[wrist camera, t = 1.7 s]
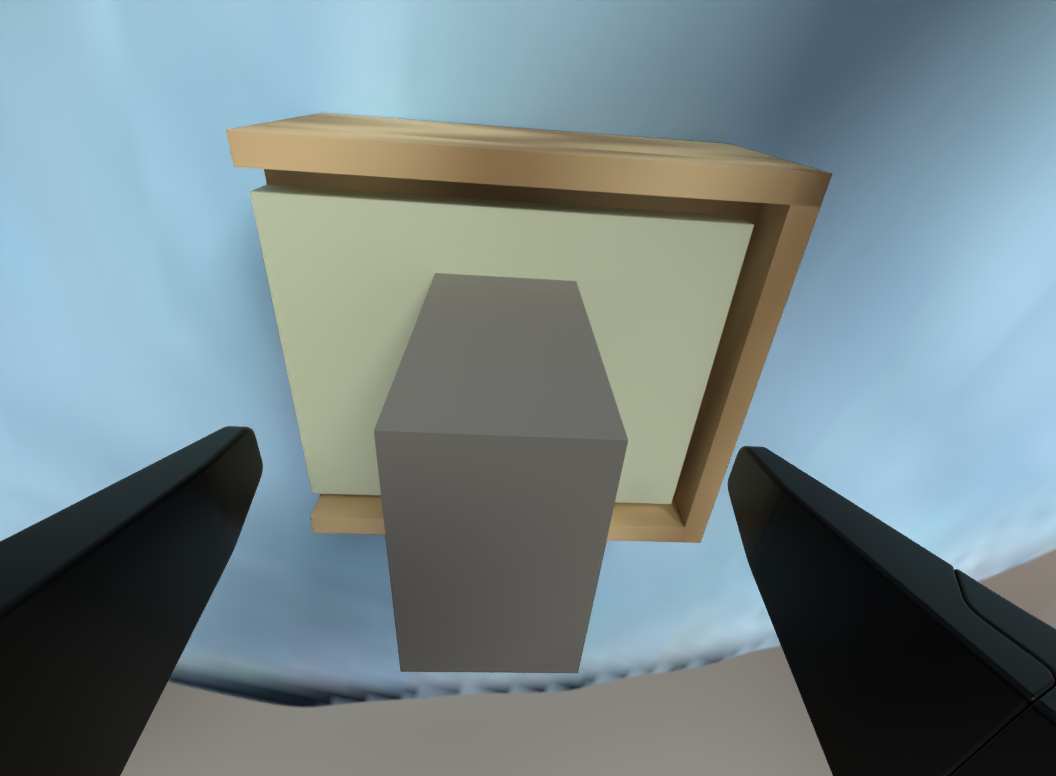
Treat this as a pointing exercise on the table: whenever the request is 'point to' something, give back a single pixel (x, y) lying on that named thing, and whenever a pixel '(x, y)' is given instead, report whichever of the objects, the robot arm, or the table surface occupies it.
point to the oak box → (589, 180)
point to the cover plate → (386, 288)
